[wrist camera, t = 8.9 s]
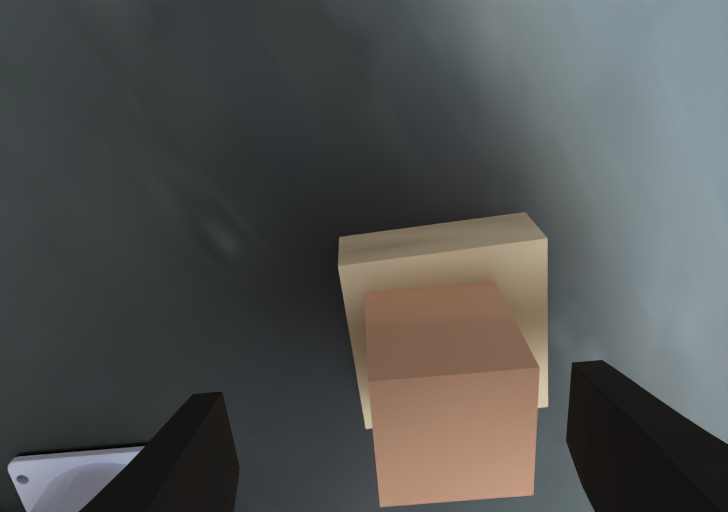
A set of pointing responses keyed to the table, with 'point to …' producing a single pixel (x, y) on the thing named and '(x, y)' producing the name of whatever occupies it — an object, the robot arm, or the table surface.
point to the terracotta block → (450, 395)
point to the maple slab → (450, 276)
